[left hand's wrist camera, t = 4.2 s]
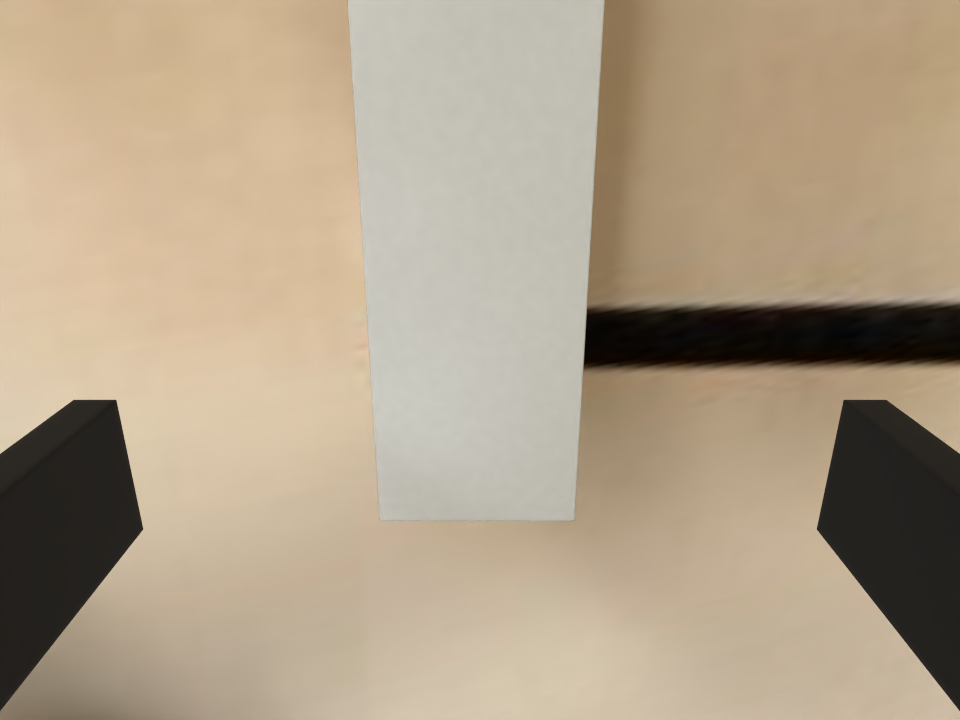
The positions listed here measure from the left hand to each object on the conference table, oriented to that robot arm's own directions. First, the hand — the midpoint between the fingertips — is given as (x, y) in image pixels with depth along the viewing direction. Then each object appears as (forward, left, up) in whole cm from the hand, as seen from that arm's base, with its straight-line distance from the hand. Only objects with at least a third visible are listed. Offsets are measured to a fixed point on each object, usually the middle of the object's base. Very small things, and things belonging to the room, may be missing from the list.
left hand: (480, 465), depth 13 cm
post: (+27, +20, -14) cm, 36 cm away
